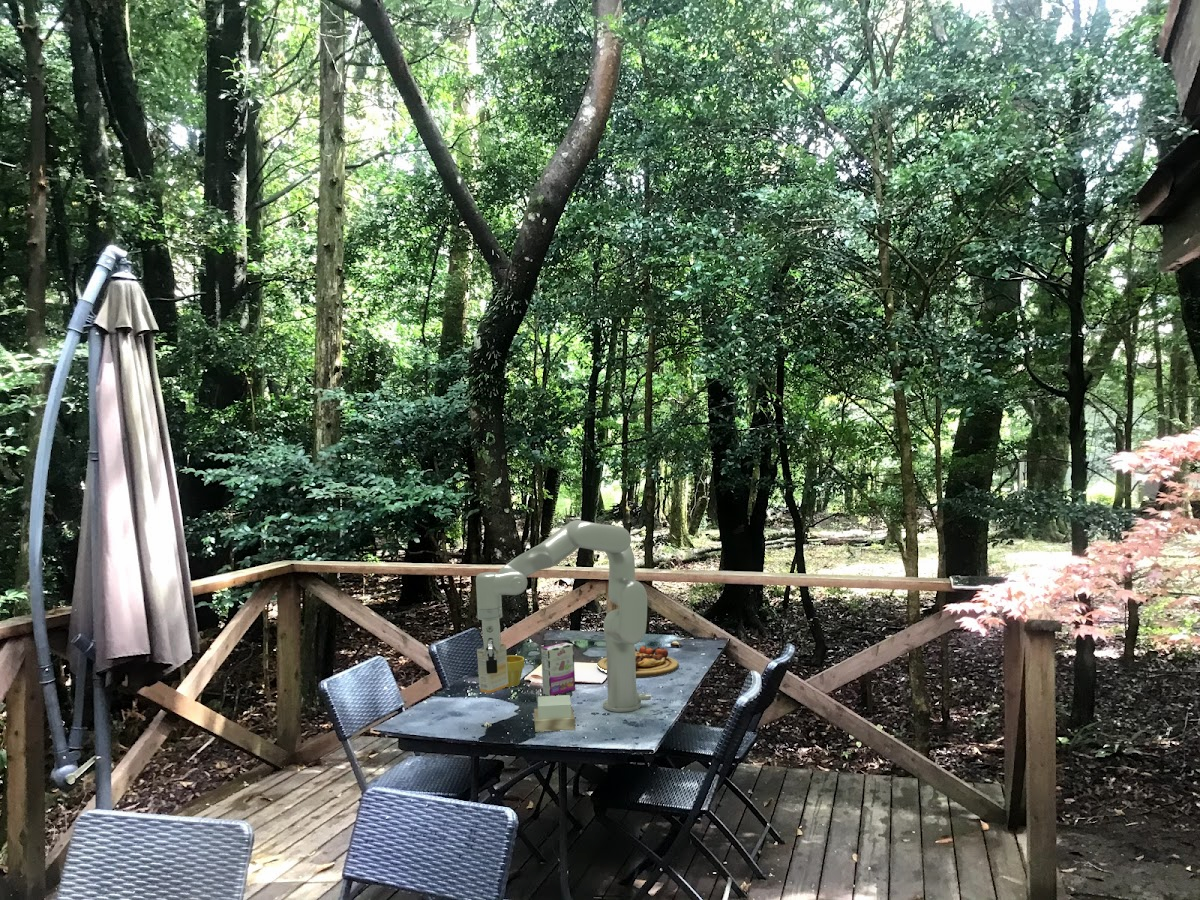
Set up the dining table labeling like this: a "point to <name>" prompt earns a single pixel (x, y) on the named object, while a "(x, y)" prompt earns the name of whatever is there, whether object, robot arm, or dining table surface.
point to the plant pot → (514, 669)
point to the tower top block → (554, 707)
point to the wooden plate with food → (649, 662)
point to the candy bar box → (558, 669)
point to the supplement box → (492, 680)
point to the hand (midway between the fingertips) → (492, 668)
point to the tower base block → (554, 723)
